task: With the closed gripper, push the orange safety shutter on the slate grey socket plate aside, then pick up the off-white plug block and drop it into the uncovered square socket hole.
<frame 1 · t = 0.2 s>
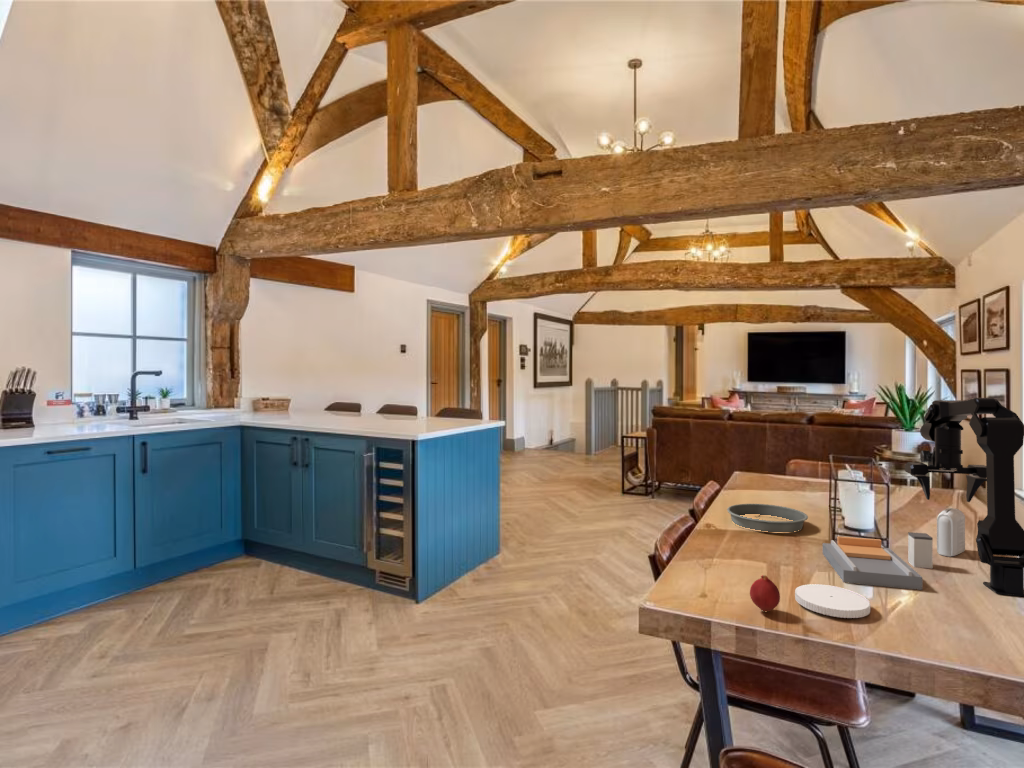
hand: (947, 500, 150), 15 cm above the table, tool pointing down, fingers open, 9 cm apart
shutter: (863, 547, 141), point 5 cm above the table, slide at 0.0 cm
plug: (920, 565, 140), on the table
cake pan: (766, 525, 180), on the table
plastic lid: (831, 609, 116), on the table
photo printer: (951, 553, 150), on the table
onion: (764, 612, 114), on the table
socket plate: (867, 570, 137), on the table
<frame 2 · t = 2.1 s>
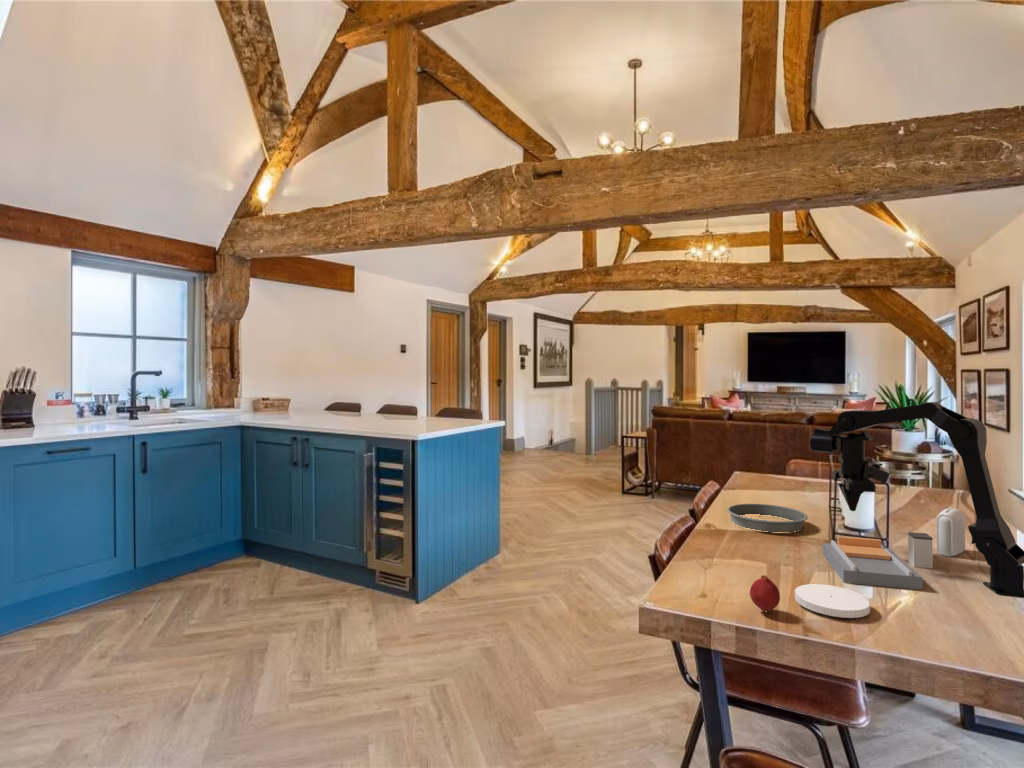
hand: (852, 510, 150), 12 cm above the table, tool pointing down, fingers closed
nothing on the table moved.
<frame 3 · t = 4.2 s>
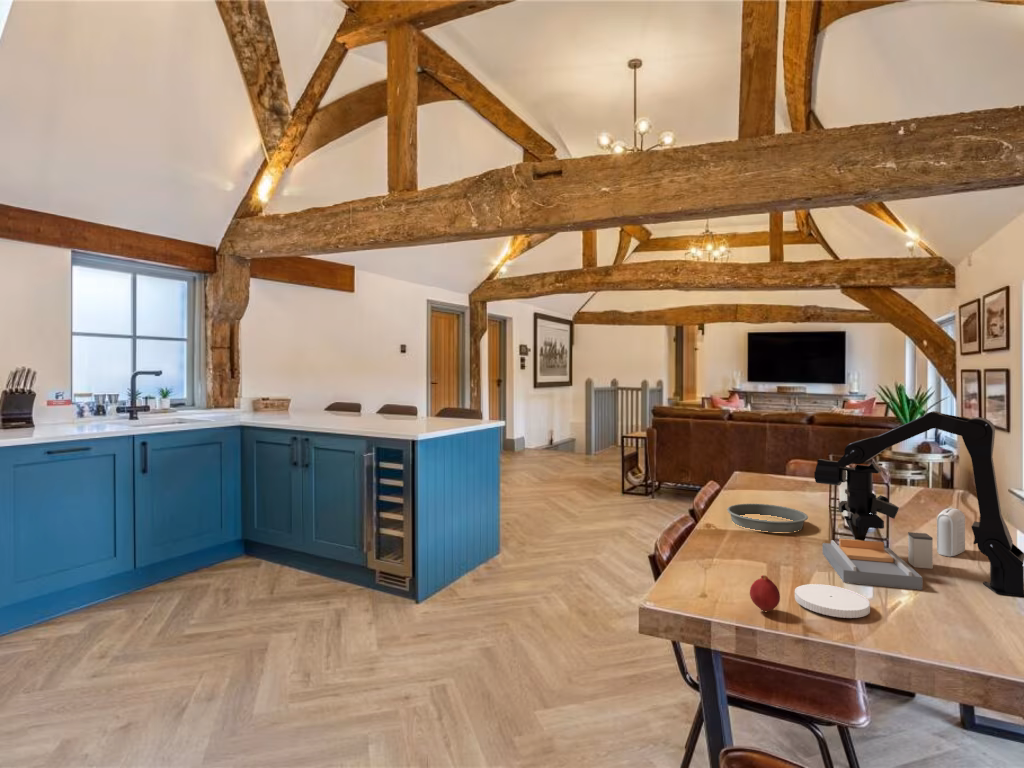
hand: (860, 545, 144), 4 cm above the table, tool pointing down, fingers closed
shutter: (865, 550, 139), point 5 cm above the table, slide at 2.1 cm, touching gripper
everything else where it was.
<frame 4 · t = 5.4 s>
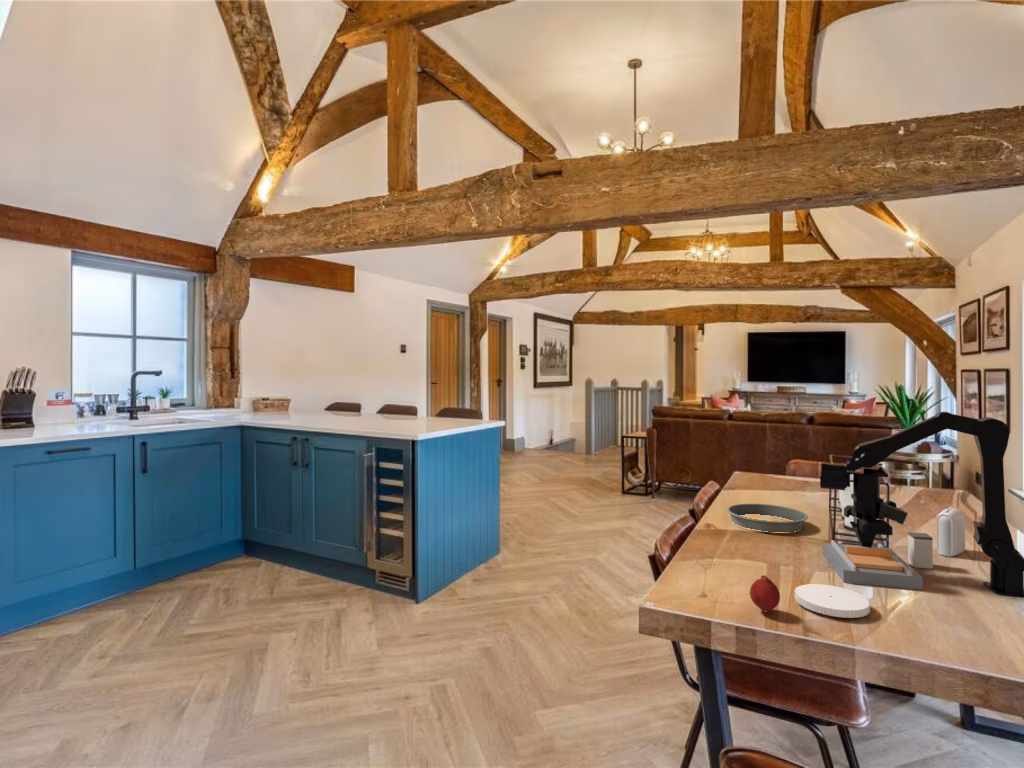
hand: (866, 552, 138), 4 cm above the table, tool pointing down, fingers closed
shutter: (872, 557, 133), point 5 cm above the table, slide at 8.2 cm, touching gripper
everything else where it was.
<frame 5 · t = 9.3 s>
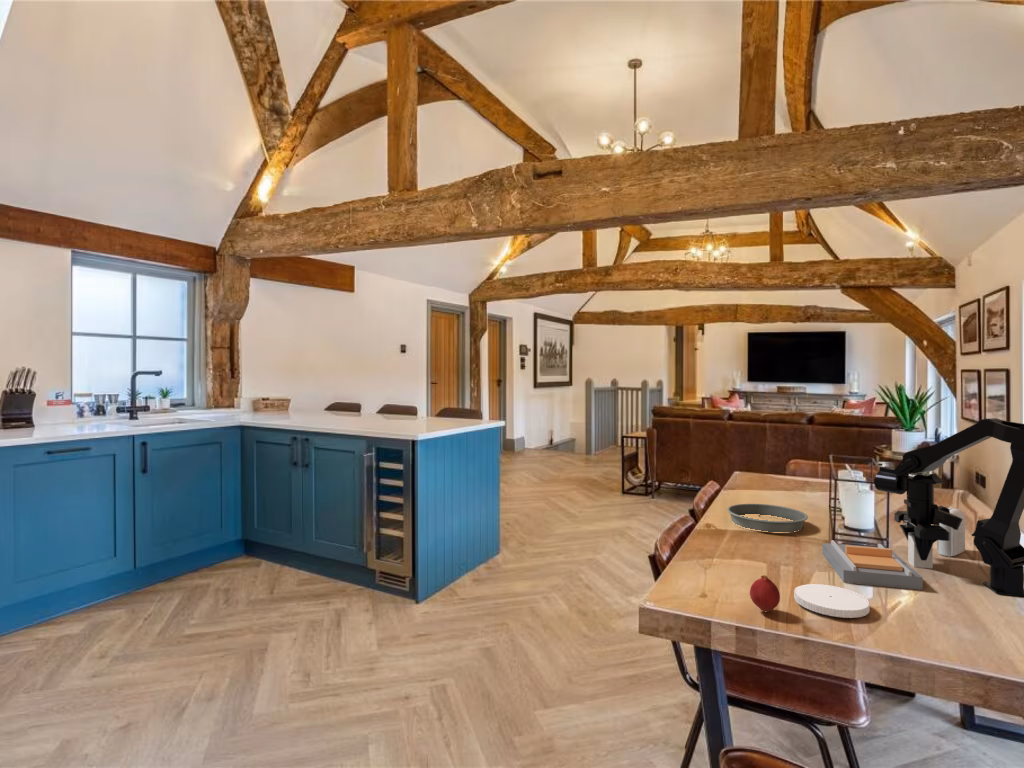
hand: (920, 557, 140), 2 cm above the table, tool pointing down, fingers closed on plug, 4 cm apart
shutter: (872, 557, 133), point 5 cm above the table, slide at 8.2 cm
plug: (920, 565, 140), on the table, touching gripper
everything else where it was.
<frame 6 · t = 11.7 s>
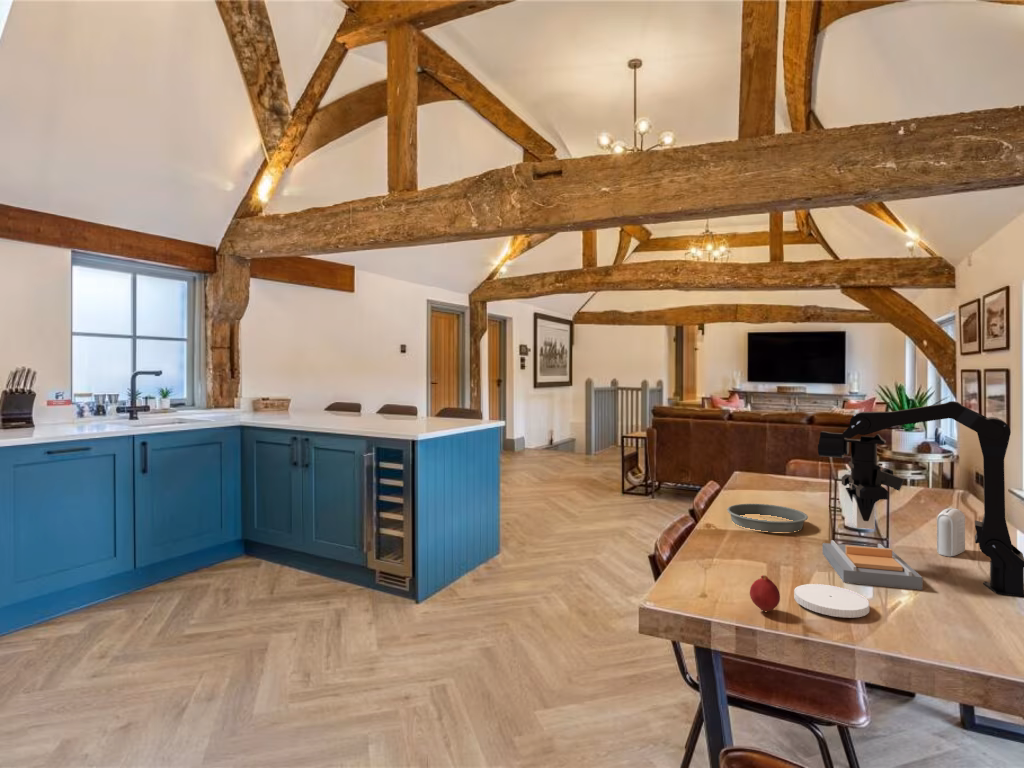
hand: (863, 518, 141), 12 cm above the table, tool pointing down, fingers closed on plug, 4 cm apart
plug: (863, 526, 141), point 10 cm above the table, touching gripper
everything else where it was.
when the fingers open (4 cm above the table, at t = 13.9 s): plug drops 2 cm, resting in socket plate.
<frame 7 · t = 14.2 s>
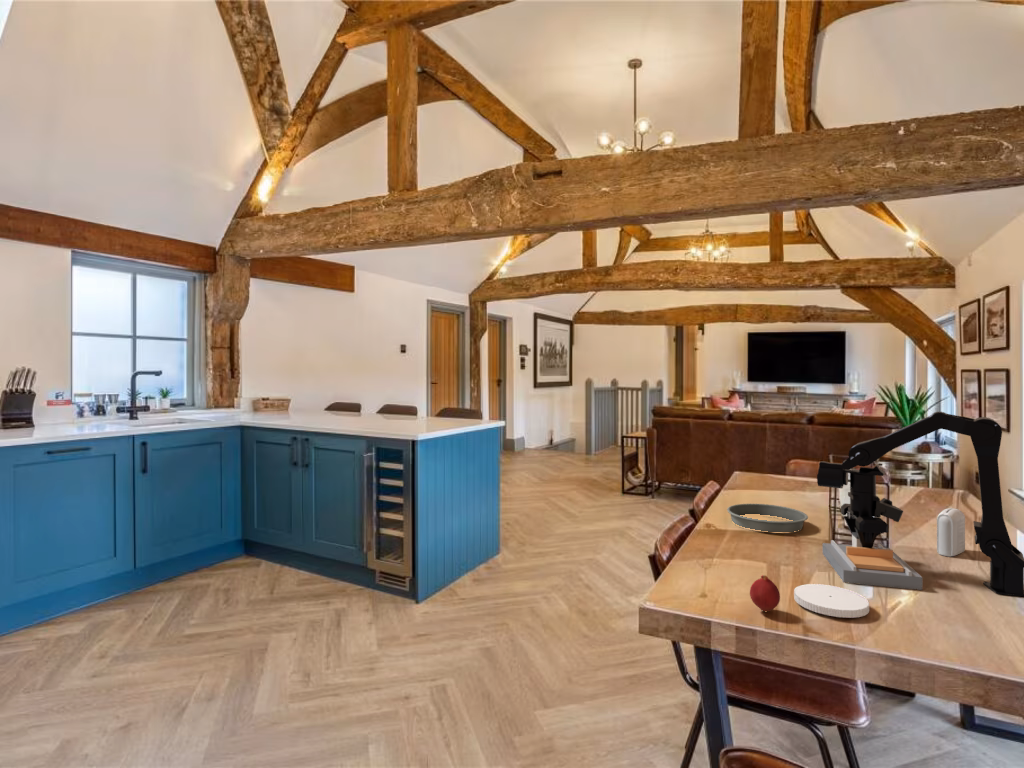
hand: (863, 549, 141), 4 cm above the table, tool pointing down, fingers open, 7 cm apart
shutter: (873, 558, 133), point 5 cm above the table, slide at 8.8 cm, touching gripper
plug: (863, 565, 141), resting in socket plate
everything else where it was.
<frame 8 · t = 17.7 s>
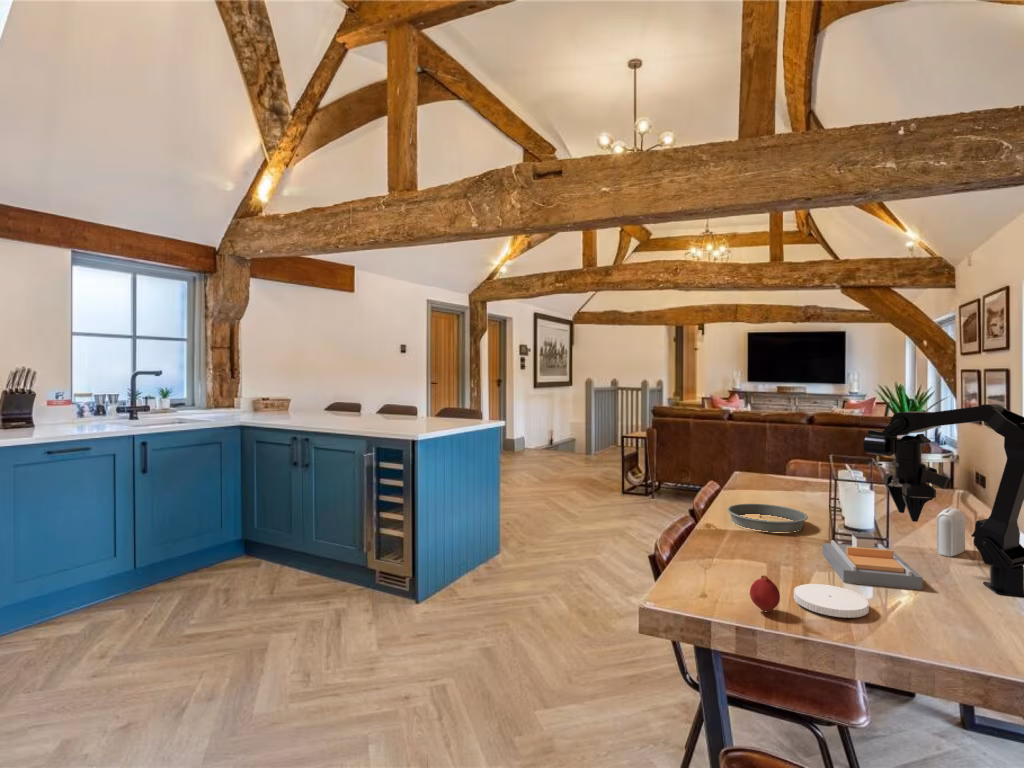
hand: (908, 517, 143), 12 cm above the table, tool pointing down, fingers open, 9 cm apart
shutter: (874, 558, 133), point 5 cm above the table, slide at 9.1 cm
everything else where it was.
at the end: shutter slide at 9.1 cm; plug 0.0 cm from the target spot on the socket plate, point 0.0 cm above the socket plate's base; plug tilted 0° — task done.
